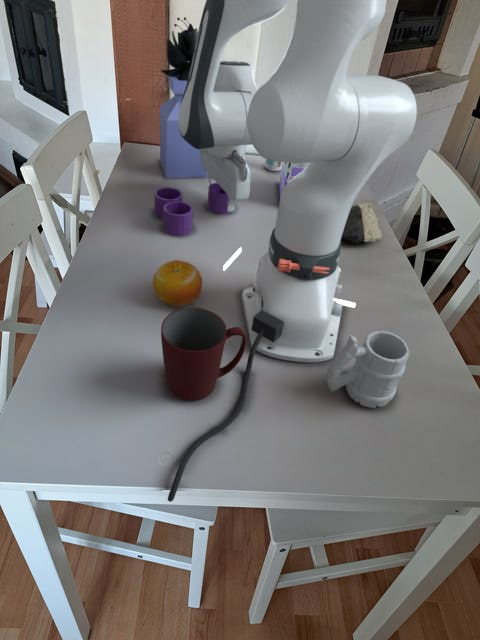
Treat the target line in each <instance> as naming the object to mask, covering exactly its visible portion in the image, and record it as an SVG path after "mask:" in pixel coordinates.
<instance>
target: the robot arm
mask: <svg viewBox="0 0 480 640" xmlns="http://www.w3.org/2000/svg"><path fill="white" fill-rule="evenodd" d="M292 1H293V0H205V4H204V6H203V10H202V14H201V19H200V22H199V27H198V29H197V30H198V35H197V39H196V44H195V49H194V53H193V58H192V62H191V67H190V72H189V76H188V81H187V85H186V88H185V91H184V94H183V97H182V100H181V103H180V108H179V113H178V125H179V132H180V135H181V136H182V137H183V139H184V140H185V141H186V142H187V143H189V144H190V145H191V146H192V147H194V148H196V149H200V161H201V165H202V167H203V168H204V169H205V170H206V171H207V178H208V183H209V185H211V184H213V183H218V184H219V185H220V187H221V188H222V189H223V190H224V191H225V192H226V193H227V194H228V198H229V200H228V202H226V206H225V208H226V209H227V211H228V212H230V213H231V211H232V212H235V210H236V204H237V203H238V202H241V201H246V200H248V199H249V197H250V194H251V193H250V192H251V169H250V166H249V164H247V161H246V158H244V156H245V154H246V153H247V146H250V145H252V146H253V148H254V149H255V150H256V152H257V154H259V156H261V157H262V158H263V159H265V160H266V159H268V160H274V161H279V162H282V163H283V162H286V163H294V164H297V163H308V162H310V163H309V165H308V166H307V167H306V168H305V169H304V170H303V171H302V172H300V173H299V174H298V175H296V176H295V177H294V178H292V179H291V180H290V181H289V182H288V183H287V184H286V186H285V187H284V189H283V191H282V194H281V198H279V203H278V209H277V216H276V221H275V225H274V226H275V227H273V229H272V231H271V235H270V237H269V242H268V251H267V252H266V253H265V254H264V255H262V256H260V257H259V258H258V259H257V265H256V271H255V275H254V281H253V286H250V287H246V288H245V289H243V290H242V294H241V299H242V305H243V310H244V315H245V322H246V327H247V331H248V337H249V342H250V347H251V348H250V350H249V354H248V358H247V362H246V368H245V372H244V375H243V380H242V387H241V393H240V398H239V401H238V402H237V405H236V407H235V408H234V410H233V412H232V413H231V415H230V416H229V417H227V419H226V420H224V421H223V422H222V423H221V424H218V425H217V426H216V427H214V428H212V429H210V430H209V431H208V432H206V433H205V434H203V435H201V436H200V437H199V438H198V439H197V440H196V441H195V442H194V443H193V444H192V445H191V446H190V447H189V449H188V450H187V451H186V453H185V454H184V456H183V457H182V459H181V461H180V463H179V464H178V467H177V470H176V473H175V475H174V478H173V481H172V485H171V487H170V490H169V492H168V495H167V501H168V502H169V503H170V502H173V501H174V500H175V498H176V494H177V491H178V489H179V485H180V483H181V480H182V477H183V474H184V471H185V468H186V466H187V464H188V463H189V460H190V459H191V457H192V455H193V454H194V453H195V451H196V450H197V449H198V448H199V447H200V446H201V445H202V444H203V443H205V442H206V441H207V440H209V439H210V438H212V437H213V436H215V435H217V434H218V433H220V432H221V431H222V430H224V429H226V428H227V427H228V426H229V425H231V424H232V423H233V422H234V421H235V420H236V418H237V417H238V416H239V415H240V413H241V411H242V410H243V407H244V404H245V402H246V398H247V392H248V385H249V380H250V374H251V370H252V365H253V361H254V357H255V354H256V352H258V353H260V354H262V355H264V356H266V357H267V356H268V357H270V358H274V359H277V360H278V359H279V360H282V361H288V362H297V363H322V362H327V361H329V360H332V359H333V358H334V356H335V350H336V346H337V345H336V344H337V339H338V334H339V327H340V321H341V316H342V311H343V306H344V307H345V306H346V307H350V308H354V309H355V307H356V305H357V304H356V302H352V301H349V300H344V299H339V298H338V297H335V294H336V293H339V294H340V293H341V292H342V289H343V285H342V284H339V283H338V281H339V278H340V275H341V272H342V269H341V268H340V266H339V265H338V263H339V260H340V256H341V249H342V241H341V240H342V239H341V237H342V233H343V230H344V227H345V224H346V221H347V218H348V215H349V212H350V209H351V207H352V206H354V202H355V200H356V199H357V197H358V195H359V194H360V192H361V191H362V189H363V187H364V186H365V185H366V183H367V181H368V180H369V178H370V177H371V176H372V175H373V174H374V172H375V171H376V170H377V168H378V167H379V166H380V165H381V164H382V163H383V162H384V161H385V160H386V159H387V158H388V157H389V156H390V155H392V154H393V153H394V152H395V151H397V150H398V149H400V148H401V147H402V146H404V145H405V144H406V142H408V140H409V138H411V135H412V133H413V131H414V129H415V126H416V122H417V117H418V106H417V99H416V97H415V94H414V92H413V91H412V89H411V87H410V86H409V85H408V84H406V83H404V82H402V81H399V80H396V79H393V78H390V77H386V76H382V75H378V74H377V75H376V74H373V75H372V74H368V75H367V74H365V75H360V74H359V75H358V74H357V75H356V74H355V75H354V74H353V75H347V73H348V67H349V65H350V64H349V63H350V61H351V58H352V56H353V53H354V51H355V49H356V48H357V46H358V45H359V43H361V42H362V41H363V40H365V39H367V37H369V36H371V35H372V34H373V33H374V32H375V31H376V30H377V29H378V27H380V25H381V24H382V21H383V19H384V17H385V14H386V8H387V0H297V3H296V14H295V21H294V25H293V26H294V27H293V30H292V34H291V37H290V41H289V44H288V46H287V47H286V48H287V49H286V51H285V53H284V55H283V57H282V59H281V61H280V63H279V64H278V66H277V68H276V69H275V71H274V72H273V73H272V74H271V76H270V77H269V78H268V79H267V80H266V81H265V82H264V83H262V84H261V85H260V86H259V87H258V85H257V84H256V82H255V78H254V68H253V66H252V64H249V62H246V61H237V60H236V61H235V60H222V56H223V53H224V50H225V48H226V46H227V44H228V43H229V42H230V41H231V39H233V38H234V37H235V36H236V35H238V34H240V33H241V32H243V31H244V30H247V29H249V28H251V27H253V26H256V25H259V24H262V23H265V22H267V21H269V20H271V19H273V18H274V17H276V16H277V15H279V14H281V13H282V11H284V10H285V9H286V8H287V7H288V6H289V5H290V3H291V2H292ZM241 253H242V247H239V248H238V249H237V250H236V251H235V253H234V254H233V255H232V256H231V257H230V258H229V259H228V260H227V261H226V262H225V264H224V265H223V268H222V270H223V271H226V270H227V268H228V267H229V266H231V264H232V263H233V262H234V261H235V259H237V257H238V256H239V255H241Z"/></svg>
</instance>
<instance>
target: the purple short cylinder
mask: <svg viewBox="0 0 480 640" xmlns="http://www.w3.org/2000/svg"><path fill="white" fill-rule="evenodd" d="M228 200H229V198H228V194H227V193H226V192H225V191H224V190H223V189H222V188H221V187H220V185H219V184H218V183H213V184H211V185H210V184H209V185H208V191H207V209H208V210H209V212H211V213H214V214H218V215H226V214H230V213H231V212H233V211H231V212H228V211H227V209H226V208H225V206H226V202H228Z"/></svg>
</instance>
